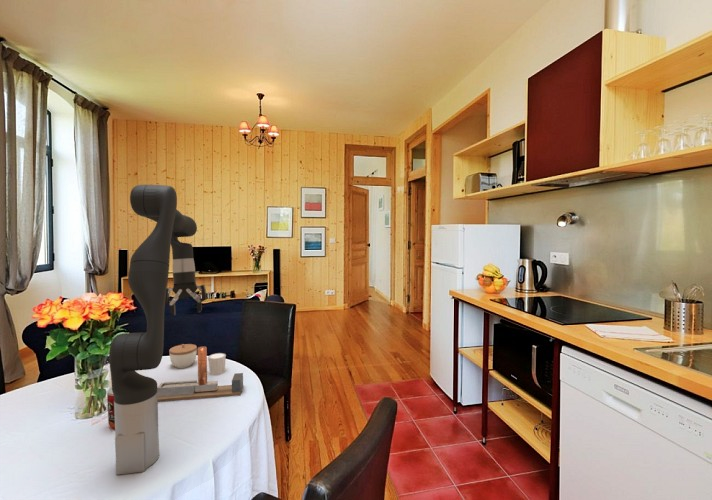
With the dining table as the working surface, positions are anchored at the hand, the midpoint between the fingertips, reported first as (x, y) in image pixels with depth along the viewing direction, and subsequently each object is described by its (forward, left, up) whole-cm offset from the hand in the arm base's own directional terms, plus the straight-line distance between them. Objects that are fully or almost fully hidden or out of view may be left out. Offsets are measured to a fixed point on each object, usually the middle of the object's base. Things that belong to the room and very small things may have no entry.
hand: (186, 313), depth 127 cm
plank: (-8, -7, -28) cm, 30 cm away
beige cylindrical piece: (+11, -8, -28) cm, 31 cm away
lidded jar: (+21, +8, -28) cm, 35 cm away
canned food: (-23, +12, -28) cm, 38 cm away
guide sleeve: (-8, +1, -27) cm, 28 cm away
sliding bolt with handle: (-8, -3, -26) cm, 28 cm away
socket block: (-8, -19, -27) cm, 34 cm away
